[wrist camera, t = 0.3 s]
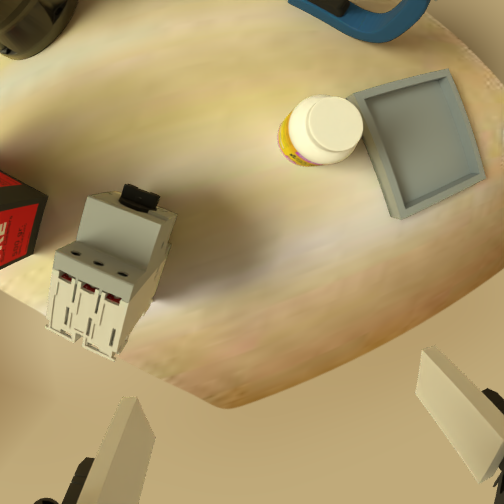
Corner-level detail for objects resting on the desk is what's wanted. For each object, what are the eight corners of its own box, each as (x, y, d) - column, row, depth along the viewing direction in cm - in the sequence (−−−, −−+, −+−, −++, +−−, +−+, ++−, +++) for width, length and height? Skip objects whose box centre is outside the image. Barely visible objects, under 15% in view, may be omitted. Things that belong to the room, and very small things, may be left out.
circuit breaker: (188, 197, 37) (156, 211, 22) (152, 301, 40) (113, 364, 25) (132, 175, 36) (73, 178, 21) (102, 280, 39) (44, 330, 24)
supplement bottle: (273, 163, 36) (291, 156, 24) (279, 109, 35) (298, 77, 22) (328, 170, 37) (370, 169, 24) (333, 117, 35) (376, 94, 23)
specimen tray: (345, 98, 35) (353, 93, 32) (436, 73, 34) (448, 68, 31) (390, 216, 38) (401, 220, 35) (473, 177, 37) (485, 178, 34)
